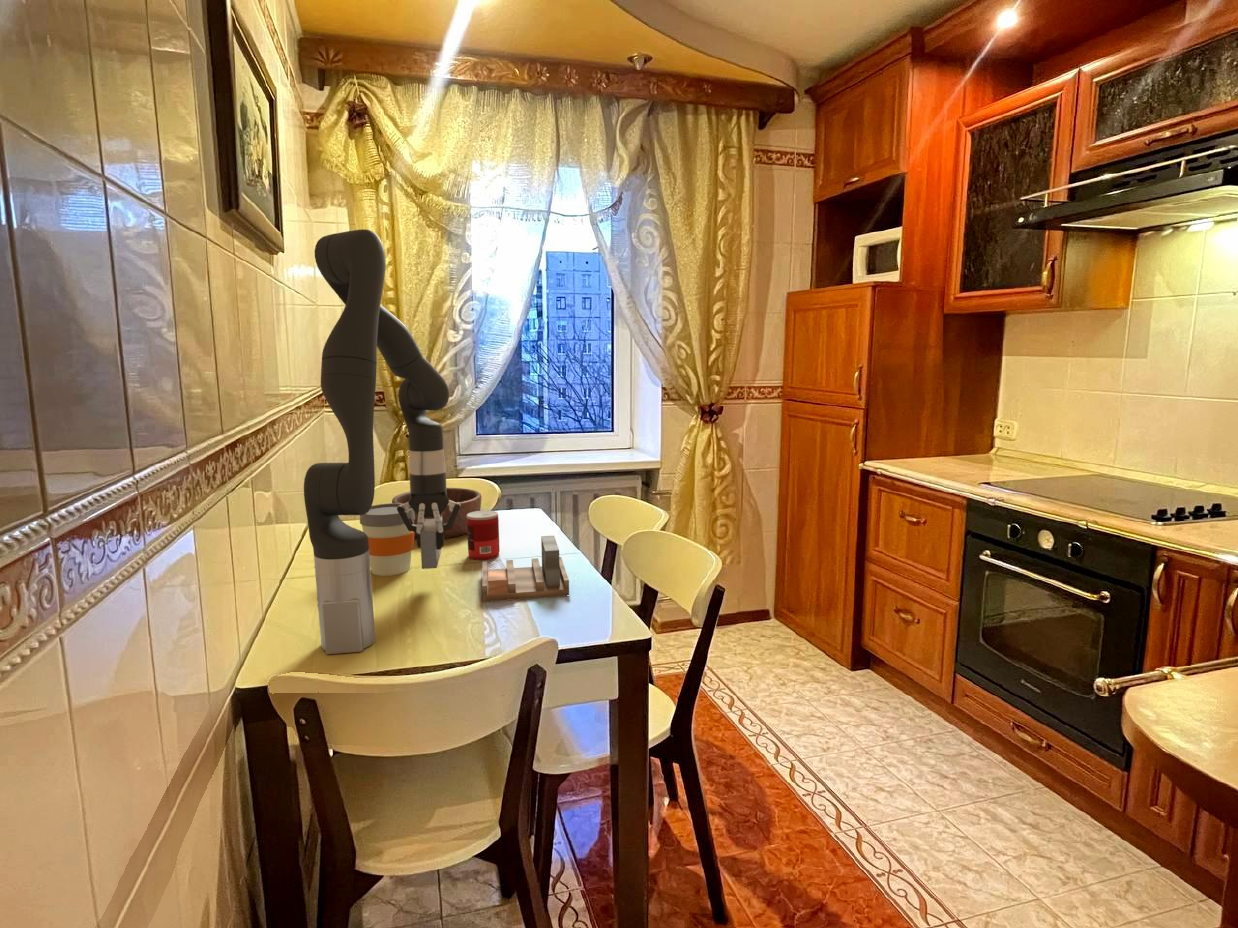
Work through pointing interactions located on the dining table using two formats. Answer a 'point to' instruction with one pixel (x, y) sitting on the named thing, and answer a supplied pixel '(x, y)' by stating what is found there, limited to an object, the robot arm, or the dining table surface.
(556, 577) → the rack
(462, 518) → the wooden bowl
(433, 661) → the dining table surface
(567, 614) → the dining table surface
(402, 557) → the reusable coffee cup
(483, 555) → the canned food
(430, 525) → the panel
